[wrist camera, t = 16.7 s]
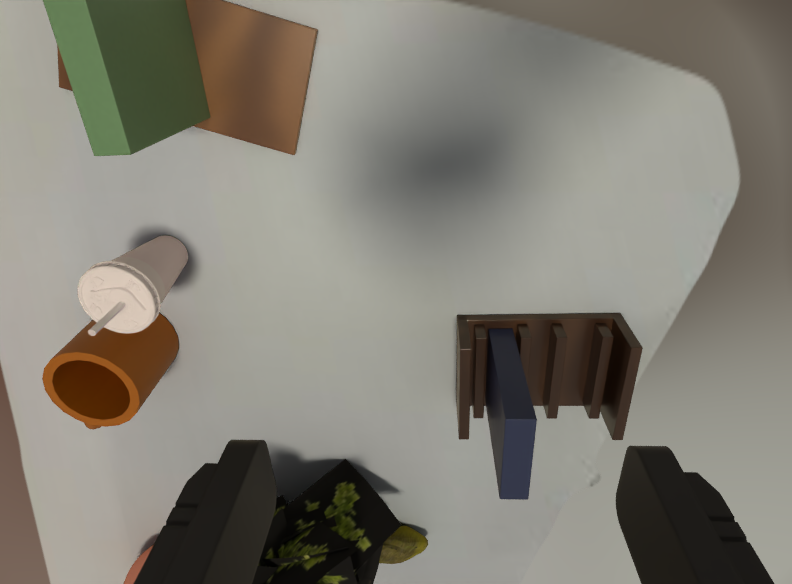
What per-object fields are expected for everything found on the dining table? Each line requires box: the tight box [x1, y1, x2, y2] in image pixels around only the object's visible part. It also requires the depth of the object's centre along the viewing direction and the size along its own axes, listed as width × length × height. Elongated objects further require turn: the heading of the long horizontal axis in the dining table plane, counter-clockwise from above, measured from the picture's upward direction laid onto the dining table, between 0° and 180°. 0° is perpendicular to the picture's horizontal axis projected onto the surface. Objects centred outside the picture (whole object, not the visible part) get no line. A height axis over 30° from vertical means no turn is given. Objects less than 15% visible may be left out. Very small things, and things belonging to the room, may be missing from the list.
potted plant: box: [252, 459, 428, 584], centre depth 57 cm, size 21×22×30 cm
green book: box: [43, 0, 210, 156], centre depth 35 cm, size 2×9×13 cm, turn 3°
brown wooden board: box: [57, 0, 318, 155], centre depth 41 cm, size 20×10×1 cm, turn 74°
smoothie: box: [78, 235, 188, 336], centre depth 44 cm, size 6×6×14 cm
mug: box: [42, 313, 179, 429], centre depth 52 cm, size 9×12×9 cm
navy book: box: [485, 328, 537, 499], centre depth 47 cm, size 2×9×13 cm, turn 3°
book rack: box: [456, 313, 642, 440], centre depth 51 cm, size 16×11×6 cm
